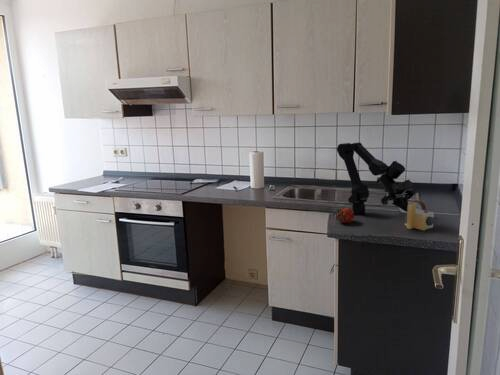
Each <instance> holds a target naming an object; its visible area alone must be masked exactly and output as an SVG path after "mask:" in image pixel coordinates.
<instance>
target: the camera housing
mask: <svg viewBox="0 0 500 375" xmlns="http://www.w3.org/2000/svg"><path fill="white" fill-rule="evenodd" d="M415 214H417V215H421V216H426V226H425V230H428V229H433V228H434V221H435V219H434V216H435V213H434V212H432V211H429V210H426V211H424V210H420V209H415ZM404 226H407V212H406V211H405V214H404Z"/></svg>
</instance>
